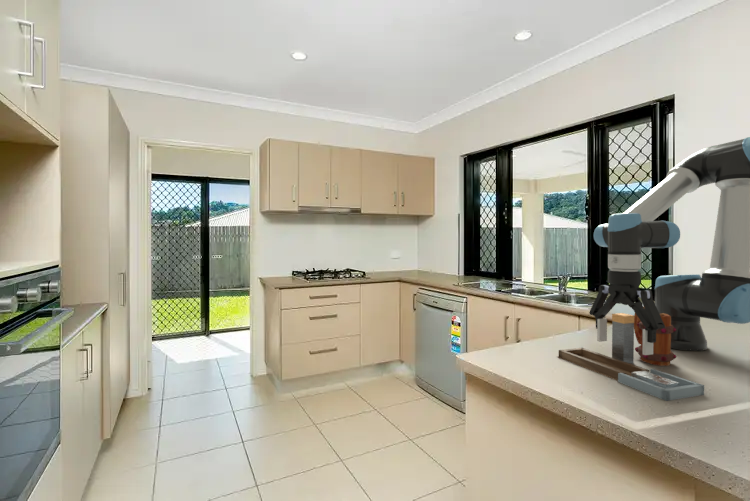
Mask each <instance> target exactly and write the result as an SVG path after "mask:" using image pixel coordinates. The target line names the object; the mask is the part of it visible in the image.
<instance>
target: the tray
mask: <svg viewBox="0 0 750 501" xmlns="http://www.w3.org/2000/svg"><path fill="white" fill-rule="evenodd" d="M649 373H652V374H655V375H658V376H661V377H664V378H667V379H670V380H672V381H675V382H678V383H679V387H673V388H666V389H664V388H662V387H659V386H656V385H654V384H651V383H648V382H645V381H643V380H640V379H637V378H634V377H632V376H629V375H626V374H623V373H618V381H617V382H618V383H620V384H621V385H622V384H623V385H625V386H628V387H630V388H632V389H635V390H637V391H640V392H643V393H645V394H647V395H651V396H653V397H654V398H655V397H656V398H658V399H660V400H663V401H665V402H668V401H674V400H680V399H687V398H693V397H698V396H704V395H705V385H704V384H702V383H699V382H696V381H693V380H690V379H686V378H684V377H680V376H678V375H673V374H671V373H669V372H665V371H661V370H658V369H656V368H650V369H649Z"/></svg>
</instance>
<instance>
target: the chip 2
mask: <svg viewBox="0 0 750 501" xmlns="http://www.w3.org/2000/svg"><path fill="white" fill-rule="evenodd" d="M647 382H648V383H651V384H654V385H656V386H659V387H662V388H664V389H666V388H673V387H679V383H678V382H675V381H672V380H670V379H667V378H664V377H653V378H648V379H647Z"/></svg>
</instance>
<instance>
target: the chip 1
mask: <svg viewBox="0 0 750 501" xmlns="http://www.w3.org/2000/svg"><path fill="white" fill-rule="evenodd" d="M631 376H632V377H634V378H637V379H640V380H643V381H645V382H647V379H648V378H653V377H661V376H658V375H655V374H652V373H650V371H649V372H647V371H638V372H631Z"/></svg>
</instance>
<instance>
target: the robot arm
mask: <svg viewBox="0 0 750 501" xmlns="http://www.w3.org/2000/svg"><path fill="white" fill-rule="evenodd" d="M710 184H711V185H712V184H714V185H715V187H717V189H719V190H720V195H719V196H720V197H719V202H718V209H717V210H718V211H717V217H716V223H715V230H714V236H713V243H712V244H713V245H712V250H711V257H710V263H709V268H708V269H706V270H705V271H703V272H702V273H701V274H677V275H676V274H674V275H673V274H672V275H669V274H668V275H660V276H658V277H657V278H656V279H655V284H654V285H655V286H654V296H653V291H652V290H649V289H646V290H644V289H643V290H640V289H641V288H640V285H641V284H642V281H641V280H642V279H641V278H642V276H641V275H642V273H641V272H640V269H642V249H665V248H671V247H674V246H675V245H677V243H678V242H679V241H680V239H681V229H680V228H679V226H678V225H677V224H676V223H675V222H673V221H668V220H667V221H666V220H662V219H661V220H656V219H657V218H658V217H659V216H661V215H662V214H664V213H665V212H666V211H667V210H669V208H671V207H672V206H673V205H674V204H675V203H676V202H678V201H679V200H680V199H681V198H683V197H684V196H685V195H686V194H689V193H690V194H691V193H693V192H695V191H696V190H698V189H699V188H700V187H703V186H706V185H710ZM593 240H594V242H595V243H596V245H598V246H599V247H601V248H602V247H603V248H607V250H608V251H607V268H608V269H609V270H608V271H607V283H608V284H609V285H608V284H600V285H599V286H598V293H597V295H596V298H595V299H594V301H593V304H592V306H591V308H590V309H589V315H590V316H594V318H595V329H596V331H597V336H596V337H597V339H596V340H597V342H607V341H608V318H606V316H607V314H609V313H610V311H611V310H612V309H613V308H614V307H615V306H616V304H618V305H619V304H622V305H624V306H628V307H629V308H631V309H632V311H633V312H634V314H635V313H636V315H637V316H638V318H639V319H640V320H641V322H642V323H643V325H644V326H645V329H643V355H652V354H653V343H655V342H656V330H657V329H662V328H665V325H664V323H663V321H662V318H661V316H660V314H661V313H664V314H668V315H670V316H671V325H673V327H674V328H676V331H675V332H673V333H671V349H674V350H680V351H681V350H682V351H693V352H694V351H695V352H696V351H705V350H707V349H708V341H707V340H708V339H707V338H706V336H705V332H704V330H703V327H702V325H701V318H704V319H709V320H714V321H720V322H723V323H727V324H728V323H729V324H731V323H732V324H737V325H738V324H740V325H744V324H749V323H750V136H749V137H745V138H741V139H738V140H734V141H733V140H732V141H729V142H725V143H721V144H720V143H719V144H717V145H711V146H707V147H704V148H703V149H700V150H698V151H696V152H694V153H692V154H690V155H689V156H688V157H686V158H684V159H683V160H682V161H681V162H679V163H678V164H676V165H675V166H673V167H672V168H671V169H670V170H669V171H668V172H667V173H666V176H665V178H664V179H663V180H662V181H660V182H659V183H658V184H657V185H656V186H654V187H653V188H652V189H651V190H650V191H647V193H646V194H645V195H643V196H642V197H641V198H640V199H639V200H637V201H636V202H635V203H634V204H632V205H631V206H630V207H629V208H628V209H625V211H624V212H622V213H621V212H620V213H613V214H611V215H609V217H608V223H607V222H606V223H603V224H599V225H598V226H597V227H596V228H595V229H594V232H593ZM653 297H654V298H653Z"/></svg>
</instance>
